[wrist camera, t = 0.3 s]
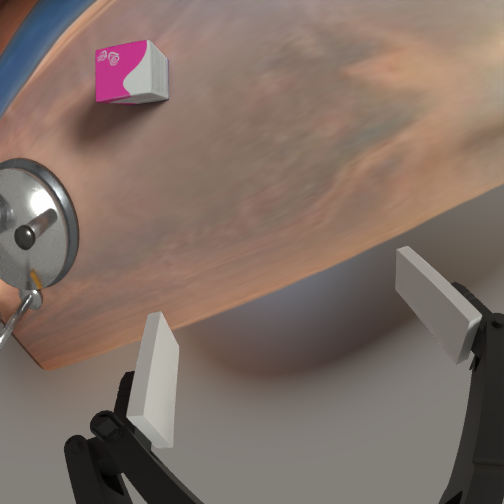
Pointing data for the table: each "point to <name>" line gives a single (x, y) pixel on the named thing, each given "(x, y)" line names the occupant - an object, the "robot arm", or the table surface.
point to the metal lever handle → (21, 311)
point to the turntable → (31, 230)
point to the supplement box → (131, 74)
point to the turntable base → (65, 202)
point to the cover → (2, 215)
